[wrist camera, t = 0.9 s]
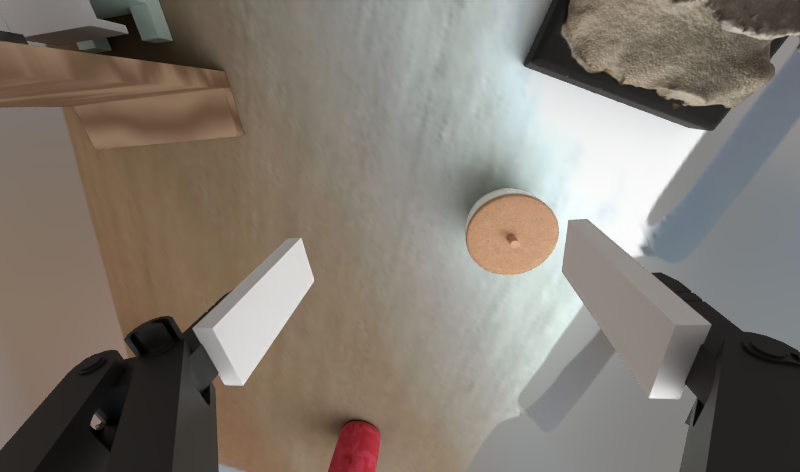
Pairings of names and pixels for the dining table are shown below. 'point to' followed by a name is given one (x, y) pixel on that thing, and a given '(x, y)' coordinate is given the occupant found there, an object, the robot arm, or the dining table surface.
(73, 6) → the pale green block
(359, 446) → the red flared column
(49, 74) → the wall board
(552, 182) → the dining table surface
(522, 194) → the lidded jar
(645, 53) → the coral
